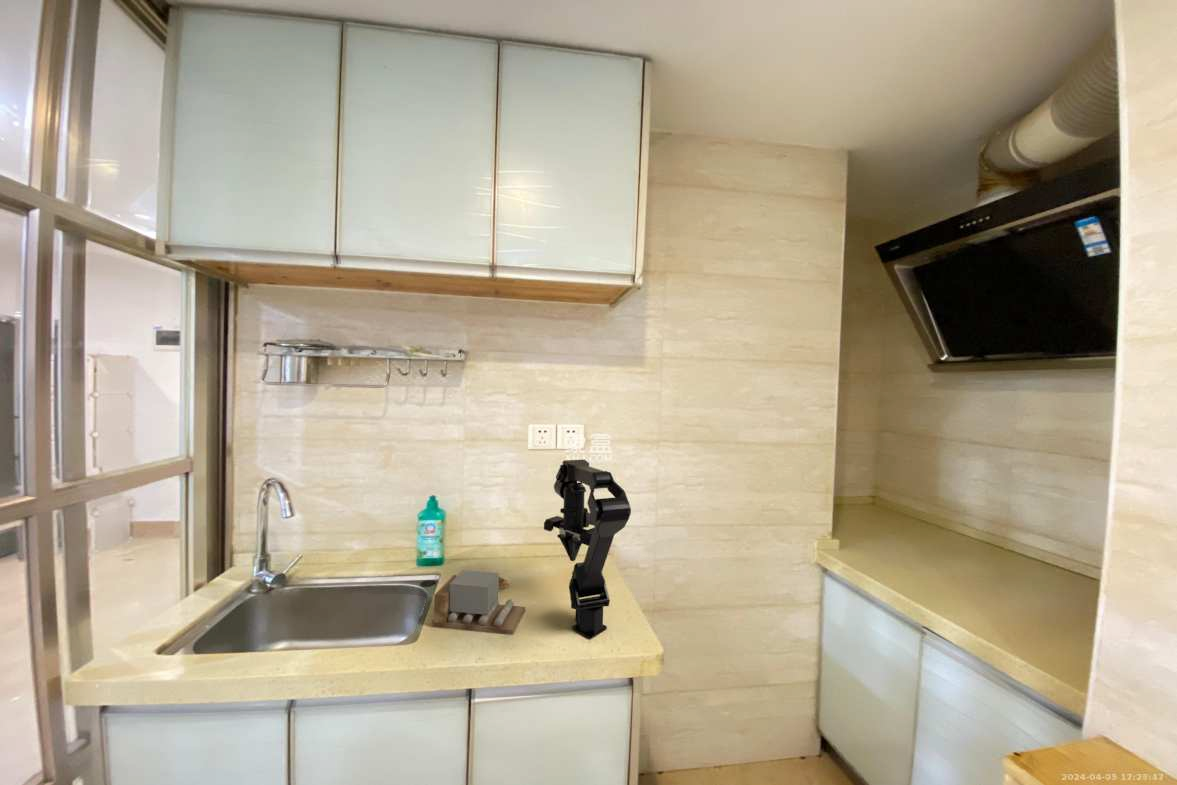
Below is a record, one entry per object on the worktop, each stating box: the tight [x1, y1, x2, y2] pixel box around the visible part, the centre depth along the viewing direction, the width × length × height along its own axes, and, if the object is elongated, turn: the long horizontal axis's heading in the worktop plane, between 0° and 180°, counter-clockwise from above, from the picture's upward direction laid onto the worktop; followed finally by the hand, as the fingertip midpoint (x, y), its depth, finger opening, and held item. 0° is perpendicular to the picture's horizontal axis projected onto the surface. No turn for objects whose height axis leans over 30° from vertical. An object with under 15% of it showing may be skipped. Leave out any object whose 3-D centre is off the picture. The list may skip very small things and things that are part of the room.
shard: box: [499, 576, 511, 591], centre depth 130 cm, size 11×8×2 cm
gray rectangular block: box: [449, 569, 500, 615], centre depth 114 cm, size 10×8×7 cm
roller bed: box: [430, 574, 526, 636], centre depth 114 cm, size 21×11×8 cm, turn 82°
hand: (572, 560), depth 122 cm, fingers closed
